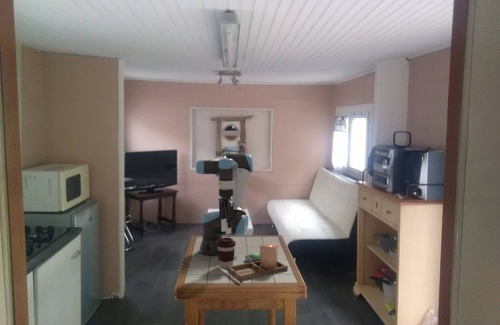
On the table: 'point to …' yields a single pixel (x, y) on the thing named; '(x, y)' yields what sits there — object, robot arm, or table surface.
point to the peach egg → (268, 256)
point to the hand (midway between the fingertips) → (226, 232)
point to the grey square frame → (251, 259)
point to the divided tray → (253, 270)
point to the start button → (255, 255)
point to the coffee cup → (226, 252)
